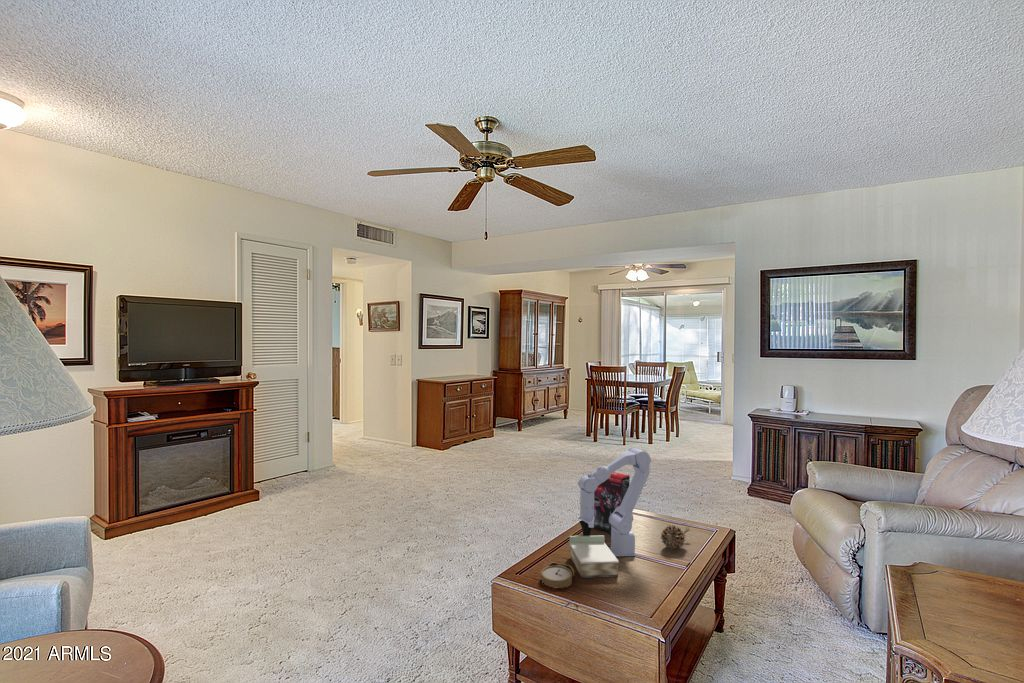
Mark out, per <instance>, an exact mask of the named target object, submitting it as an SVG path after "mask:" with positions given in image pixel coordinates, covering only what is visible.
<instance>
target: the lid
mask: <svg viewBox="0 0 1024 683" xmlns="http://www.w3.org/2000/svg"><path fill="white" fill-rule="evenodd" d="M605 540H606V539H605V535H603V534H602V535H600V534H598V535H597V534H596V535H594V534H593V535H590V536H583V535H569V552H570V551H571V547H572V549H573V551H574V552H575V554H576V556H577V558H578V559H579V561H580V563H581V564H597V563H618V564H620V561H619V559H618V558H617V556H614V554H613V553H612V552H611V550H610V549H609V548H610V547H608V545H607V544H606V543H605Z"/></svg>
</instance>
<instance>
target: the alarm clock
mask: <svg viewBox="0 0 1024 683" xmlns="http://www.w3.org/2000/svg"><path fill="white" fill-rule="evenodd" d="M540 576H541V579H540V581H541V580H542V582H541V584H543V583H544V584H546V585H548V586H551V587H558V588H562V587H567V588H568V586H569V587H570V586H571V585H572V584H573V577H575V570H574V567H573V566H571V565H569V564H566V563H558V562H555V561H553V562H550V563H549V564H548V566H545V567H543V568H542V569H541V571H540ZM544 584H543V585H544ZM562 589H563V588H562Z"/></svg>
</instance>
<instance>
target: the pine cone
mask: <svg viewBox="0 0 1024 683" xmlns="http://www.w3.org/2000/svg"><path fill="white" fill-rule="evenodd" d="M688 532H691V529H690V527H689V526H686V527H685V528H684V530H682V529H681V528H680V527H676V525H670V524H668V525H666V527H664V528H662V531H660V535H661V536H660V540H661V543H663V545H665V547H667V548H668V549H672V550H673V549H679V548H681V546H683V545H684V544H685V541H686V539H685V538H686V535H685V534H687V533H688Z"/></svg>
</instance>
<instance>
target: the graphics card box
mask: <svg viewBox="0 0 1024 683" xmlns="http://www.w3.org/2000/svg"><path fill="white" fill-rule="evenodd" d="M630 477H631V476H630V474H629V475H628V474H623V473H619V472H616V471H614V472H613V473H611V475H610V478H609V479H607V480H606V481H604V482H603V483H601V484H600V485H598V486H597V489H596V490H595V491H594V527H593V528H594V529H597V530H600V531H603V532H606V533H609V534H611V525H610V523H609V517H610V515H611V514H612V513H613V512H614V511H615V509H616V508H617V507H619V506H620V505H621V503H622V500H623V498H624V496H625V494H626V492H627V489H628V487H629V485H630V482H631V481H630ZM593 528H592V529H593Z"/></svg>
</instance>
